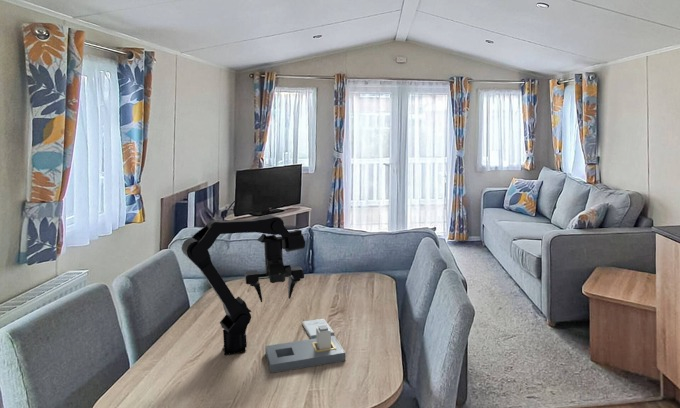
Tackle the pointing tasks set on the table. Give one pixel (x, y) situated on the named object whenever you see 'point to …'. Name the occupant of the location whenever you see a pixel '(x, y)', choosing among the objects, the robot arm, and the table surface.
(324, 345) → the plug
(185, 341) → the table surface
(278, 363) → the panel
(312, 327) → the external hard drive
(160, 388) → the table surface
